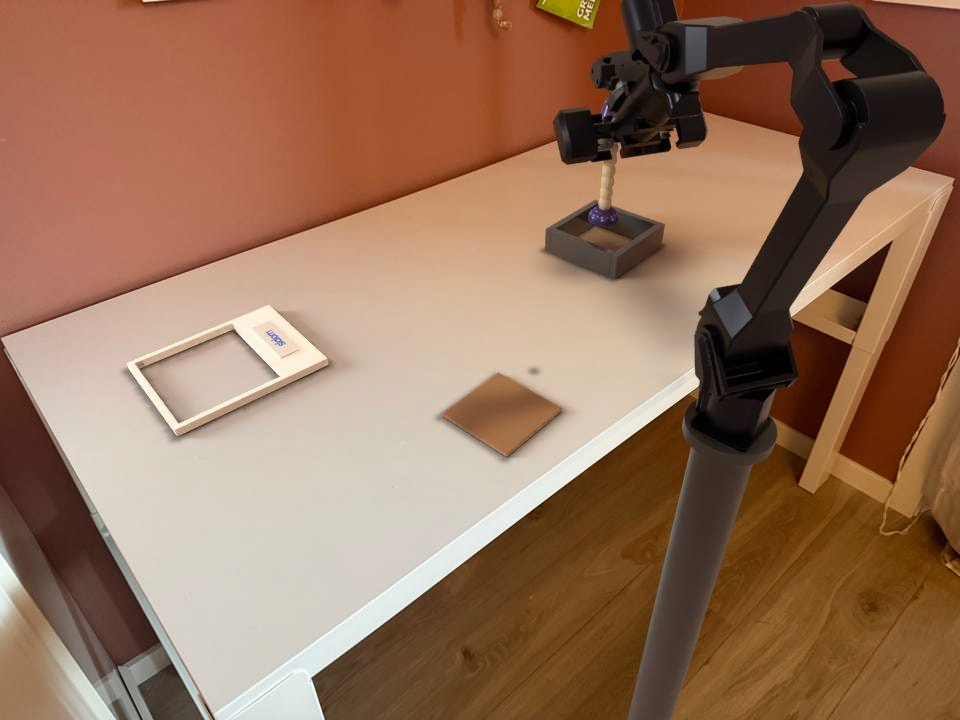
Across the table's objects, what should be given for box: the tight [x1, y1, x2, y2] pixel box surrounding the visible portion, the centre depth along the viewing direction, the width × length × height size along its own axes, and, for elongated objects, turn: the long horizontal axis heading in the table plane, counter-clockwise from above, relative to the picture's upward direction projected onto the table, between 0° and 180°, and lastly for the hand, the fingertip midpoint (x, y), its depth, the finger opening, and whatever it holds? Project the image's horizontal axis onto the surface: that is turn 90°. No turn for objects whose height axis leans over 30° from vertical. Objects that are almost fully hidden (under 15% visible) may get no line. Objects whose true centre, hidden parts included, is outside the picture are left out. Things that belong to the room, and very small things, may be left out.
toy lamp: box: [588, 96, 619, 227], centre depth 95 cm, size 5×5×17 cm
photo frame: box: [126, 304, 329, 437], centre depth 83 cm, size 15×1×18 cm
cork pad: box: [442, 372, 563, 458], centre depth 76 cm, size 9×9×1 cm
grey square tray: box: [544, 199, 666, 280], centre depth 102 cm, size 12×12×4 cm
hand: (607, 157), depth 96 cm, fingers closed on toy lamp, 4 cm apart
